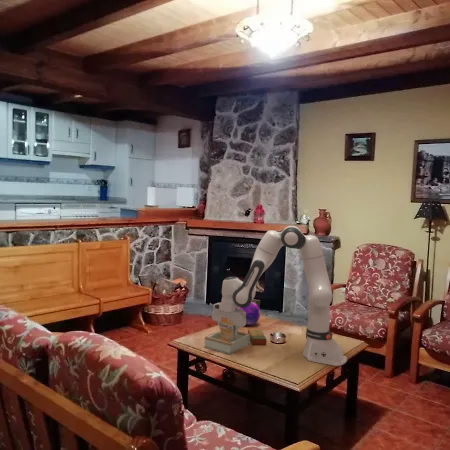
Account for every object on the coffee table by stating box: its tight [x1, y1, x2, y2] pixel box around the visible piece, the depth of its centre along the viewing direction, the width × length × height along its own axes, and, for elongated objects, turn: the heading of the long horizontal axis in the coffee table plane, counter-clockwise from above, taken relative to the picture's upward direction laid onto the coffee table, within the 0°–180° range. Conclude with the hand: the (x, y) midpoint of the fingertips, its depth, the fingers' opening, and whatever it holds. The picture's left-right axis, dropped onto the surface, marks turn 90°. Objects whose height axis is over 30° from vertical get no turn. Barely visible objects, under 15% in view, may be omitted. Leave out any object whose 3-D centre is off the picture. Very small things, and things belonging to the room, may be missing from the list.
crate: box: [204, 330, 251, 356], centre depth 241 cm, size 16×20×6 cm
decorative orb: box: [237, 300, 261, 326], centre depth 280 cm, size 15×15×15 cm
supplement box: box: [220, 317, 237, 343], centre depth 241 cm, size 8×5×13 cm, turn 53°
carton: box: [247, 329, 268, 347], centre depth 251 cm, size 8×16×4 cm, turn 6°
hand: (228, 331), depth 240 cm, fingers closed on supplement box, 8 cm apart
